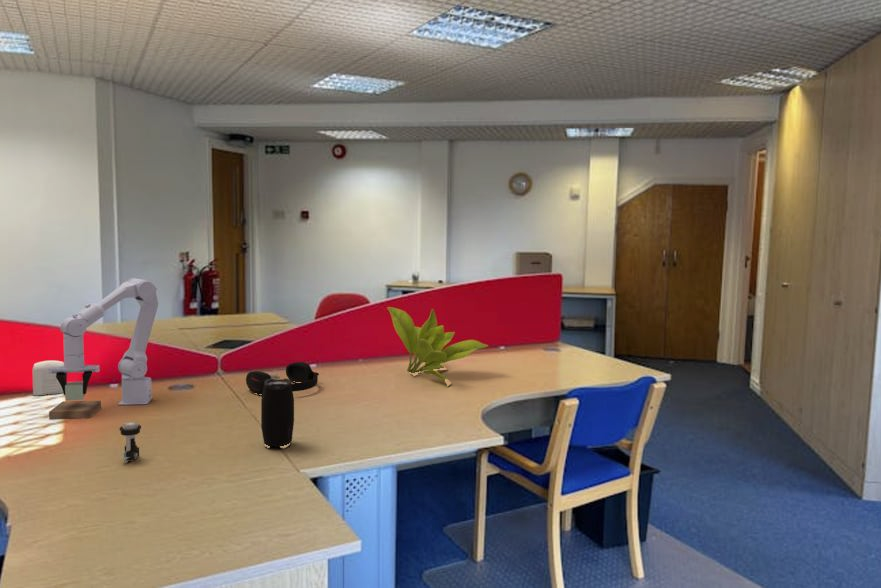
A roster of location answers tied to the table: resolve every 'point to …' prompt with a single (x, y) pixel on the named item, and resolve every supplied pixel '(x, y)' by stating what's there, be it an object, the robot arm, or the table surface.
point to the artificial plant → (429, 342)
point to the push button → (130, 440)
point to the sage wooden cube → (74, 391)
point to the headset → (293, 372)
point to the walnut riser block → (75, 410)
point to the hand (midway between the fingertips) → (75, 393)
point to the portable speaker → (277, 412)
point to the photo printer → (46, 378)
